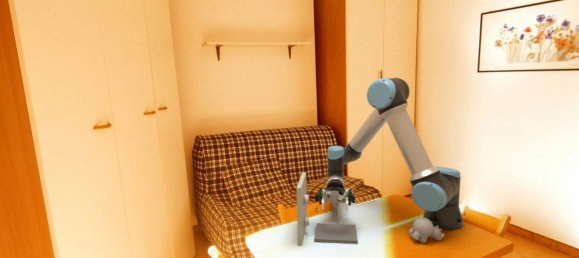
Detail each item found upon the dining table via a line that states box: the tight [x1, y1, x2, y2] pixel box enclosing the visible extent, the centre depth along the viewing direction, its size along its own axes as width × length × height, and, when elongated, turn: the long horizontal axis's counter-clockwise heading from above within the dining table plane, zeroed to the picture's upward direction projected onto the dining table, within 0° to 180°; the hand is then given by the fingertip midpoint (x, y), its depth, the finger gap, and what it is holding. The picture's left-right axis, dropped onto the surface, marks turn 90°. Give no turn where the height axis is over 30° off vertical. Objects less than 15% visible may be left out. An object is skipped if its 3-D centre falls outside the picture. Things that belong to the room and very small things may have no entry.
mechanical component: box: [321, 191, 348, 218], centre depth 131 cm, size 3×10×10 cm, turn 78°
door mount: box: [296, 172, 359, 246], centre depth 131 cm, size 22×20×22 cm
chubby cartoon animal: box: [408, 216, 445, 244], centre depth 125 cm, size 7×12×8 cm, turn 86°
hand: (334, 206), depth 126 cm, fingers closed on mechanical component, 8 cm apart
